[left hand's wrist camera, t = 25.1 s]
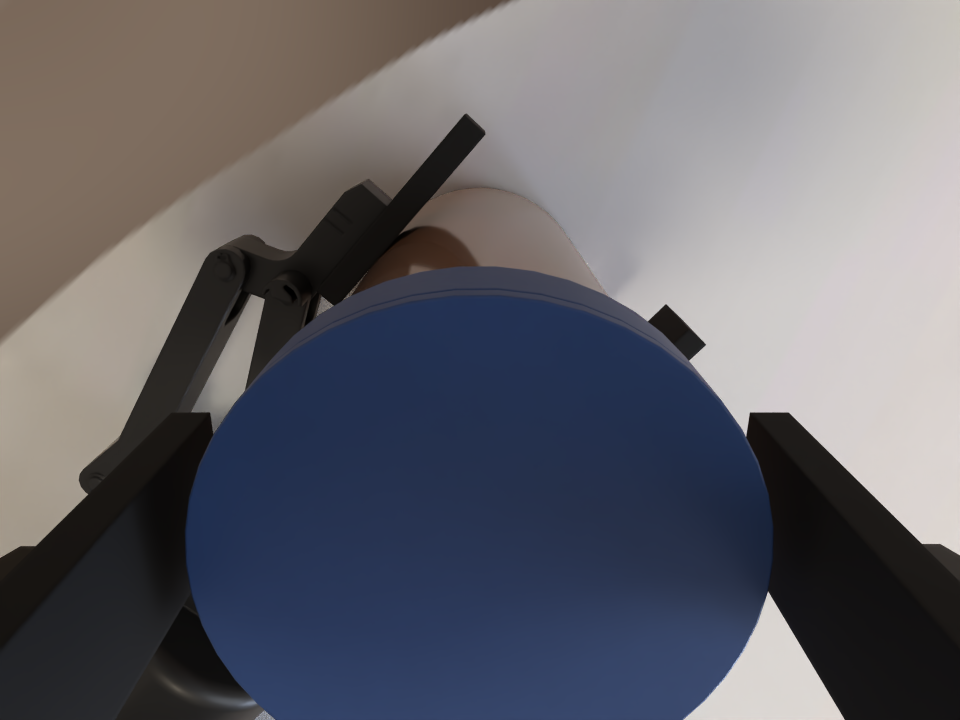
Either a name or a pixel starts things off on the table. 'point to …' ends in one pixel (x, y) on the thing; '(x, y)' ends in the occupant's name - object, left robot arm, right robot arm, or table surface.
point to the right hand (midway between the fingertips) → (584, 228)
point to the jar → (481, 239)
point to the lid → (479, 512)
